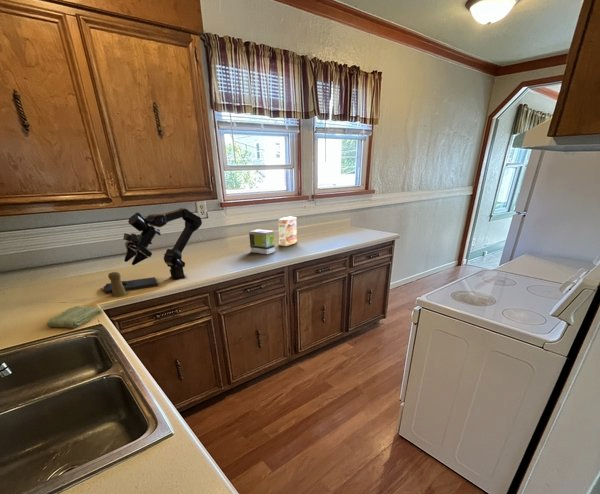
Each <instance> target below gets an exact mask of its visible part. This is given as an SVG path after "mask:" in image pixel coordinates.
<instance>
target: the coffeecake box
mask: <svg viewBox="0 0 600 494" xmlns="http://www.w3.org/2000/svg"><path fill="white" fill-rule="evenodd" d="M297 218H298V217H296V216H286V217H282V218H281V217H280V218H278V243H279V244H278V245H279V246H282V247H288V246H291V245H293V244H297V241H298V240H297V239H298V238H297V237H298V236H297V234H298V233H297V232H298V231H297V230H298V229H297V228H298V226H297V222H298V221H297V220H298V219H297Z"/></svg>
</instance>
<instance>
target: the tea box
mask: <svg viewBox="0 0 600 494" xmlns="http://www.w3.org/2000/svg"><path fill="white" fill-rule="evenodd" d="M248 236H249V248H250V253H255V254H262V255H270V254H273V253H275V252H276V244H275V231H274V230H267V229H254V230H249V231H248Z"/></svg>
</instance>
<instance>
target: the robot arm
mask: <svg viewBox="0 0 600 494" xmlns="http://www.w3.org/2000/svg"><path fill="white" fill-rule="evenodd" d="M178 219H182V220H183V221H184V228H183V229H182V232H181V233H180V235H179V237H178V239H177V240H176V242H175V244H174V245H173V247H172V248H167V249H166V251H165V253H164V254H163V262H164V263H165V264H166V266H167V267H168V268H170V269H169V273H170V277H171V279H172V280H179V279H185V278H186V276H185V271H184V268H185V267H186V262H185V261H183V260H182V259H183V256H182V253H183V251H184V249H185V248H186V246H187V244H188V242H189V240H190V239H191V237H192V235H193V233H194V232H196V231H197V230H199V228H200V227H201V226H202V225H203V220H202V218H201V217H200V216H199V215H197V214H195V213H193V212H192V211H190V210H188V208H184V207H183V208H182V207H180V208H177V209H174V210H172V211H167V212H165V213H153V214H148V215H147V217H144V216H143V215H142V214H141V213H140V212H135V213H134V214H132V215H131V216H130V217H129V218H128V220H127V222H128V224H129V225H130V226H131V227H133V228H134V229H135V230H137V231H138V232H140V234H136V233H134V232H132V233H130V234H129V233H126V232H124V233H123V238H122V239H123V240H124V241H126V242H125V243H124V247H125V249H126V253H125V257H124V259H123V260H124V262H125V263H127V262H129V261H130V260H131V259H133V260H132V261H131V266H135V265H137V264H139V263H140V262H143V261H144V260H146V259H149V258H151V257H152V255H153V251H151V250H150V249H149V248H148V247H149V245H152V244H153V242H152V241H153V239H154V238H155V237H156V235H157V236H162V234H161V230H160V228H163V227H164V226H165V225H167V224H168V223H169V222H171V221H176V220H178Z"/></svg>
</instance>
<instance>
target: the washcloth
mask: <svg viewBox="0 0 600 494" xmlns="http://www.w3.org/2000/svg"><path fill="white" fill-rule="evenodd" d="M102 310H103V309H102V308H99V307H95V306H94V307H93V306H87V305H86V306H85V305H84V306H81V305H76V306H73V307H70V308H68V309H66V310H65V311H62V312H61V313H59V314H58V315H55V316H53V317H52V318H49V320H48V321H47V322H46V326H47V327H48V328H68V329H69V328H70V329H74V328H75V329H76V328H78V327H79V326H81V325H83V324H87V322H88V321H90V320H91V319H93V318H94V317H96V316H97V315H98V314H99V313H101V311H102Z"/></svg>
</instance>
